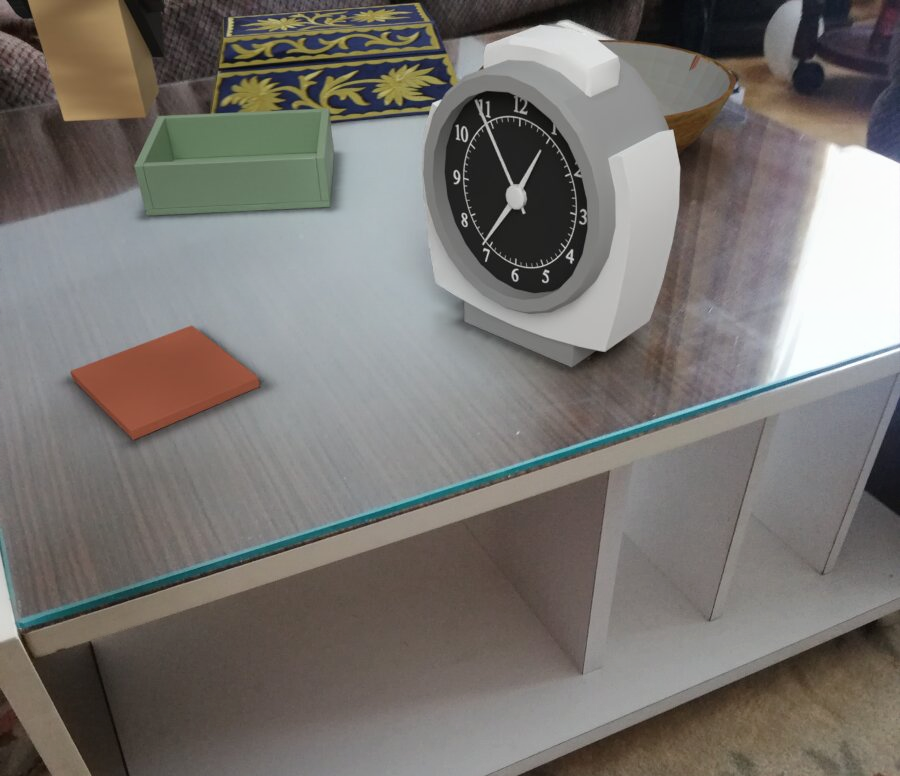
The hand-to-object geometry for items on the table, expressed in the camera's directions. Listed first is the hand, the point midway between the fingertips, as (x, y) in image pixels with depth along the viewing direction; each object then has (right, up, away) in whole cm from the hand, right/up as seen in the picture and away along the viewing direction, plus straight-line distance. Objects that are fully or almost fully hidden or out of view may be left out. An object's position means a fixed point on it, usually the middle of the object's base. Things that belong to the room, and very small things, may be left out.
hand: (111, 37), depth 58 cm
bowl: (+37, +9, +37) cm, 53 cm away
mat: (+1, -20, +9) cm, 22 cm away
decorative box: (+8, +23, +51) cm, 56 cm away
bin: (+1, +6, +35) cm, 35 cm away
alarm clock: (+28, -15, +13) cm, 35 cm away
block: (0, -5, -1) cm, 5 cm away
